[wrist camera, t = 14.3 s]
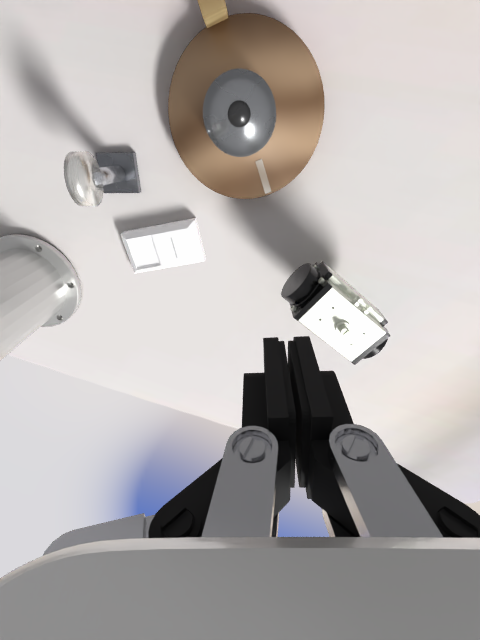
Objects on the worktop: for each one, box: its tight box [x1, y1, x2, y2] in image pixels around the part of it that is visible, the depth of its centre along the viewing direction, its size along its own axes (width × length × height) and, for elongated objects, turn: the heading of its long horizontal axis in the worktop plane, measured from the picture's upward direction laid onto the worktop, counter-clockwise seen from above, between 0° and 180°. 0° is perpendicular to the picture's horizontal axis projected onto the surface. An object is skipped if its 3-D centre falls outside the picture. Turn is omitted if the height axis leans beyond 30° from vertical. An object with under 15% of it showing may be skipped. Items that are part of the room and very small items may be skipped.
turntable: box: [168, 0, 324, 199], centre depth 30 cm, size 17×15×4 cm
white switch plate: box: [120, 218, 206, 273], centre depth 39 cm, size 5×9×3 cm, turn 101°
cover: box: [203, 68, 276, 157], centre depth 29 cm, size 7×7×4 cm
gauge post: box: [64, 151, 141, 206], centre depth 31 cm, size 4×4×11 cm
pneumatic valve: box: [281, 261, 390, 365], centre depth 36 cm, size 6×12×12 cm, turn 51°
